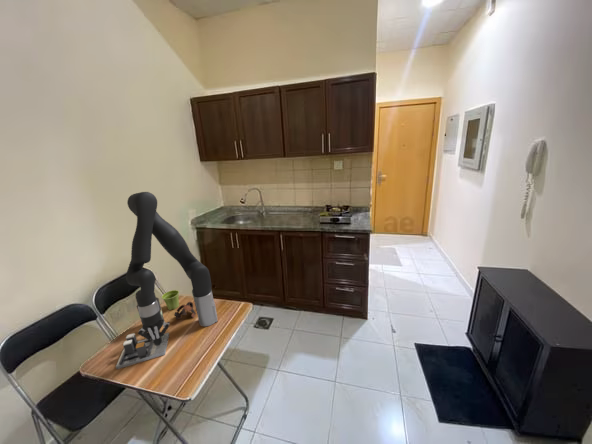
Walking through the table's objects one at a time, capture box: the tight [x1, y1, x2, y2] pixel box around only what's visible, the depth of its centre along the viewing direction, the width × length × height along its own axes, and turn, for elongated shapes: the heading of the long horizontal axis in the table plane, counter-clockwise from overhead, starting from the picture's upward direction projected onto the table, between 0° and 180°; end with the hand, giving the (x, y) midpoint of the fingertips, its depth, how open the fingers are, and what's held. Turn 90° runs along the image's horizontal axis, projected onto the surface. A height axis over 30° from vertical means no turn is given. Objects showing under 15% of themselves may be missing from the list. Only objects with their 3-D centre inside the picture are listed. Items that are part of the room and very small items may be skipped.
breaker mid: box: [122, 340, 135, 355], centre depth 112 cm, size 3×2×5 cm
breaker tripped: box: [136, 342, 147, 357], centre depth 110 cm, size 3×2×5 cm
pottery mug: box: [173, 301, 197, 320], centre depth 138 cm, size 12×10×8 cm
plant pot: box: [161, 289, 180, 311], centre depth 147 cm, size 9×9×9 cm
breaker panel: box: [115, 332, 170, 370], centre depth 115 cm, size 19×14×2 cm
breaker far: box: [125, 333, 138, 346], centre depth 116 cm, size 3×2×5 cm
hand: (158, 344), depth 112 cm, fingers closed
